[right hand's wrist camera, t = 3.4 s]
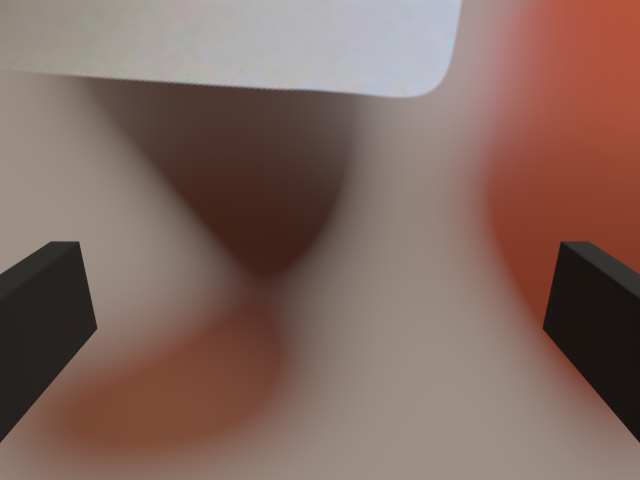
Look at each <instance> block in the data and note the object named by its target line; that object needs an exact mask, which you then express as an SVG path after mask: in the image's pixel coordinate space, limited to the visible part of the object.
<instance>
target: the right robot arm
mask: <svg viewBox="0 0 640 480" xmlns="http://www.w3.org/2000/svg"><path fill="white" fill-rule="evenodd" d="M96 330H97V324H96V320H95V315H94V310H93V305H92V301H91V296H90V291H89V287H88V282H87V277H86V272H85V268H84V263H83V258H82V253H81V249H80V244H79V242H49V243H48V244H46V245H45V246H43V247H42V248H40V249H39V250H37V251H36V252H34V253H33V254H31V255H29V256H28V257H26V258H25V259H23V260H22V261H20V262H19V263H17V264H16V265H14V266H12V267H11V268H9V269H8V270H6V271H5V272H3V273H2V274H0V442H1V441H2V440H3V439H4V438H5V437H6V435H7V434H8V433H9V432H10V431H11V430H12V428H13V427H14V426H15V425H16V424H17V422H18V421H19V420H20V419H21V418H22V417H23V415H24V414H25V413H26V412H27V411H28V410H29V408H30V407H31V406H32V405H33V404H34V402H35V401H36V400H37V399H38V398H39V397H40V395H41V394H42V393H43V392H44V391H45V390H46V388H47V387H48V386H49V385H50V384H51V383H52V381H53V380H54V379H55V378H56V377H57V375H58V374H59V373H60V372H61V371H62V370H63V368H64V367H65V366H66V365H67V364H68V363H69V361H70V360H71V359H72V358H73V357H74V356H75V354H76V353H77V352H78V351H79V350H80V348H81V347H82V346H83V345H84V344H85V342H86V341H87V340H88V339H89V338H90V337H91V336H92V334H93V333H94V332H95V331H96ZM543 330H544V331H545V332H546V333H547V334H548V335H549V337H550V338H551V339H552V340H553V341H554V342H555V344H556V345H557V346H558V347H559V348H560V350H561V351H562V352H563V353H564V354H565V355H566V357H567V358H568V359H569V360H570V361H571V363H572V364H573V365H574V366H575V367H576V368H577V370H578V371H579V372H580V373H581V374H582V375H583V377H584V378H585V379H586V380H587V381H588V383H589V384H590V385H591V386H592V387H593V388H594V390H595V391H596V392H597V393H598V394H599V395H600V397H601V398H602V399H603V400H604V401H605V402H606V404H607V405H608V406H609V407H610V408H611V410H612V411H613V412H614V413H615V414H616V415H617V417H618V418H619V419H620V420H621V421H622V423H623V424H624V425H625V426H626V427H627V428H628V430H629V431H630V432H631V433H632V434H633V435H634V437H635V438H636V439H637V440H638V441H639V442H640V274H638V273H637V272H635V271H634V270H632V269H631V268H629V267H628V266H626V265H624V264H623V263H621V262H620V261H618V260H617V259H615V258H614V257H612V256H610V255H609V254H607V253H606V252H604V251H603V250H601V249H600V248H598V247H597V246H595V245H594V244H592V243H590V242H561V244H560V249H559V253H558V258H557V263H556V268H555V272H554V277H553V282H552V286H551V291H550V296H549V301H548V305H547V310H546V315H545V320H544V324H543Z"/></svg>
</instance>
